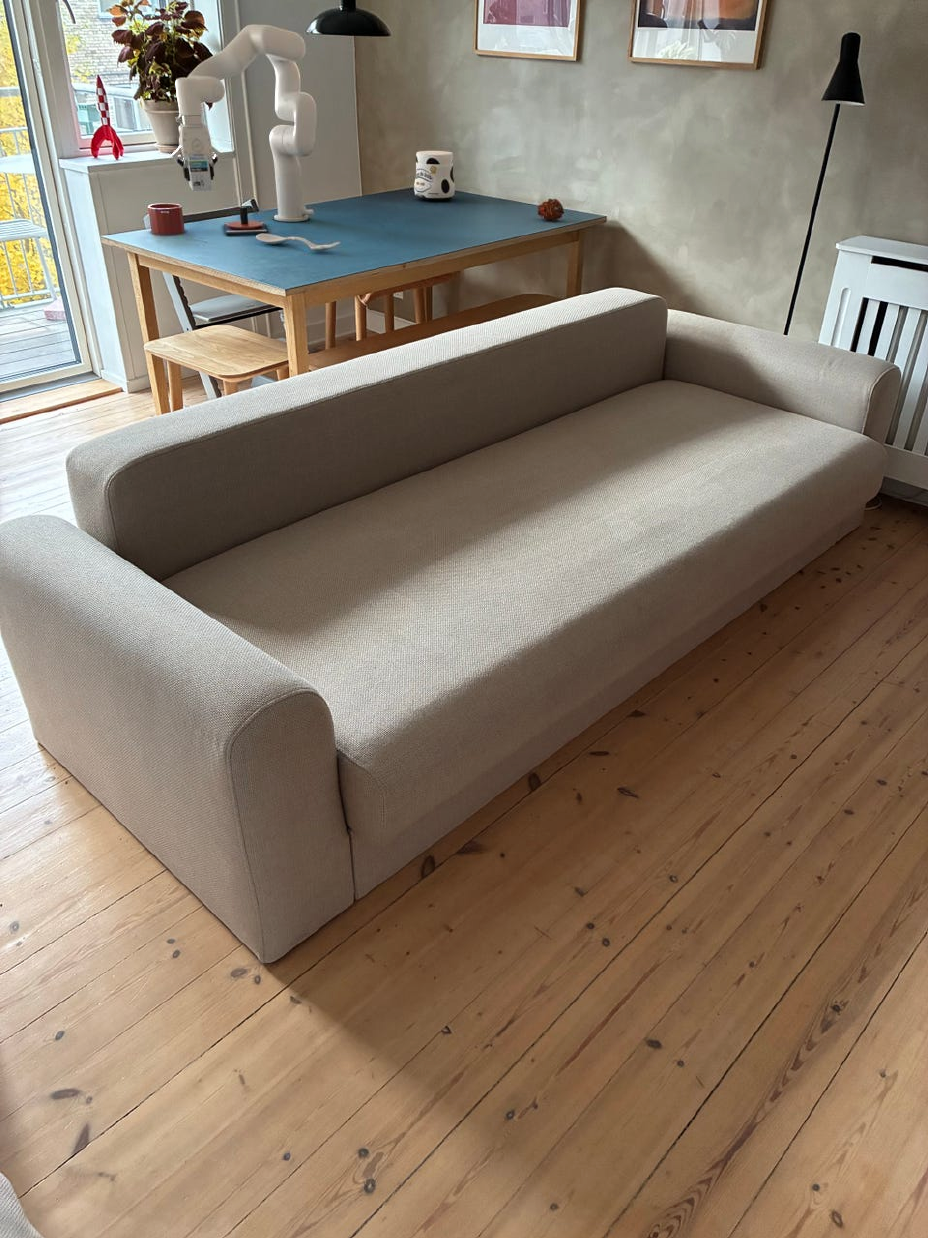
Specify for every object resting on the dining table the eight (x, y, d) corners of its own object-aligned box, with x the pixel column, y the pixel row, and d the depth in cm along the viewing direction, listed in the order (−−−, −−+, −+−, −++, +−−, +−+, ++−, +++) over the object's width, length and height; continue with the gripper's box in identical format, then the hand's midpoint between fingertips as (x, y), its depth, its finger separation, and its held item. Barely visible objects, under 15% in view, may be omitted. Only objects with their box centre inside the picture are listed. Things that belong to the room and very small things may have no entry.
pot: (184, 227, 339) (181, 201, 335) (185, 236, 326) (181, 209, 321) (152, 228, 337) (148, 202, 332) (151, 237, 323) (147, 210, 319)
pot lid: (261, 223, 343) (259, 203, 339) (263, 229, 333) (261, 209, 329) (226, 224, 340) (224, 204, 336) (228, 230, 330) (226, 210, 326)
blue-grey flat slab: (263, 224, 347) (263, 221, 346) (267, 234, 330) (267, 231, 330) (224, 225, 344) (223, 222, 343) (226, 235, 327) (226, 232, 327)
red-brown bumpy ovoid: (561, 227, 361) (538, 227, 369) (572, 211, 363) (549, 212, 371) (551, 209, 355) (528, 210, 363) (563, 192, 357) (540, 194, 365)
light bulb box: (212, 190, 318) (208, 154, 312) (192, 191, 316) (187, 155, 310) (208, 185, 327) (204, 151, 321) (188, 186, 325) (184, 151, 319)
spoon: (323, 256, 302) (322, 245, 300) (251, 243, 317) (250, 232, 315) (341, 252, 308) (341, 240, 306) (270, 239, 323) (269, 228, 321)
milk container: (410, 201, 396) (409, 154, 387) (418, 195, 411) (418, 149, 401) (450, 203, 394) (451, 155, 384) (458, 197, 408) (458, 151, 399)
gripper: (168, 122, 304) (176, 182, 314) (221, 120, 311) (228, 179, 321) (162, 120, 310) (171, 179, 319) (215, 118, 317) (221, 176, 326)
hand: (199, 179), depth 320 cm, fingers closed on light bulb box, 7 cm apart
